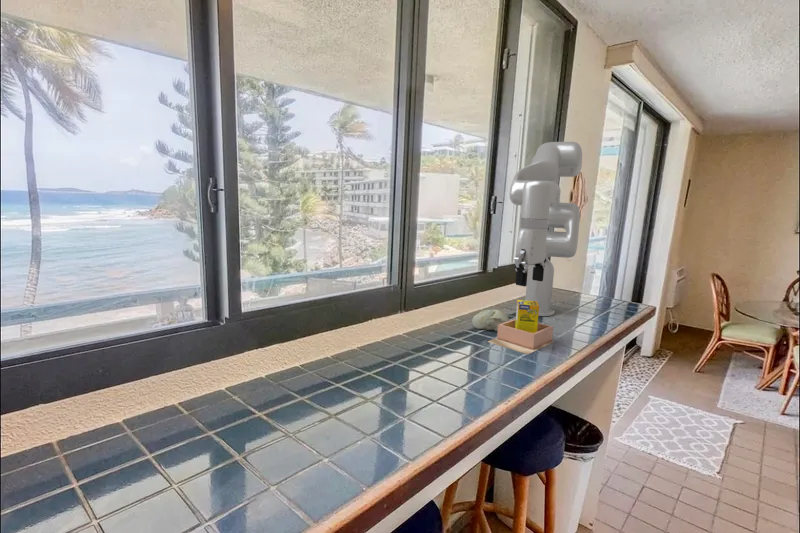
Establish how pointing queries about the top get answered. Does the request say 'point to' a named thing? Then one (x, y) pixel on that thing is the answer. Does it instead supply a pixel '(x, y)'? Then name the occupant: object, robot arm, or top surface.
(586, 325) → the top surface
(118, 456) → the top surface
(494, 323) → the seashell
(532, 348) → the pink open box
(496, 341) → the beech board
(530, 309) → the supplement box
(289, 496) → the top surface
